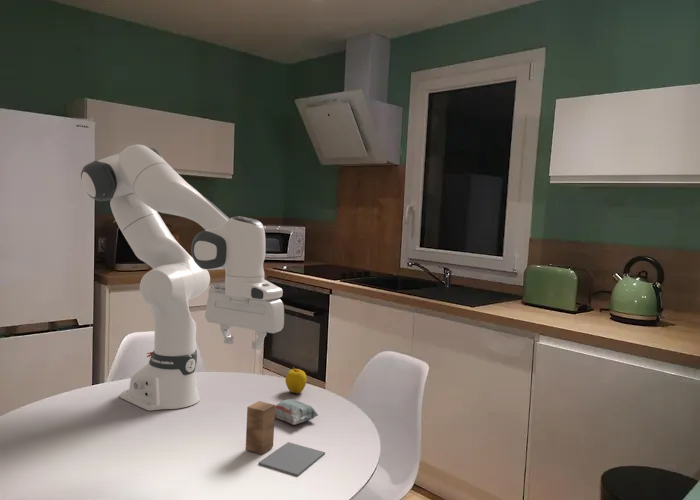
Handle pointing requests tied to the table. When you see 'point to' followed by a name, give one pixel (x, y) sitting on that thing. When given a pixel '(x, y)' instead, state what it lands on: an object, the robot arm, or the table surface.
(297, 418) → the packaged food
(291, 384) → the apple
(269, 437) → the pillar
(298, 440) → the table surface
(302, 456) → the mat
